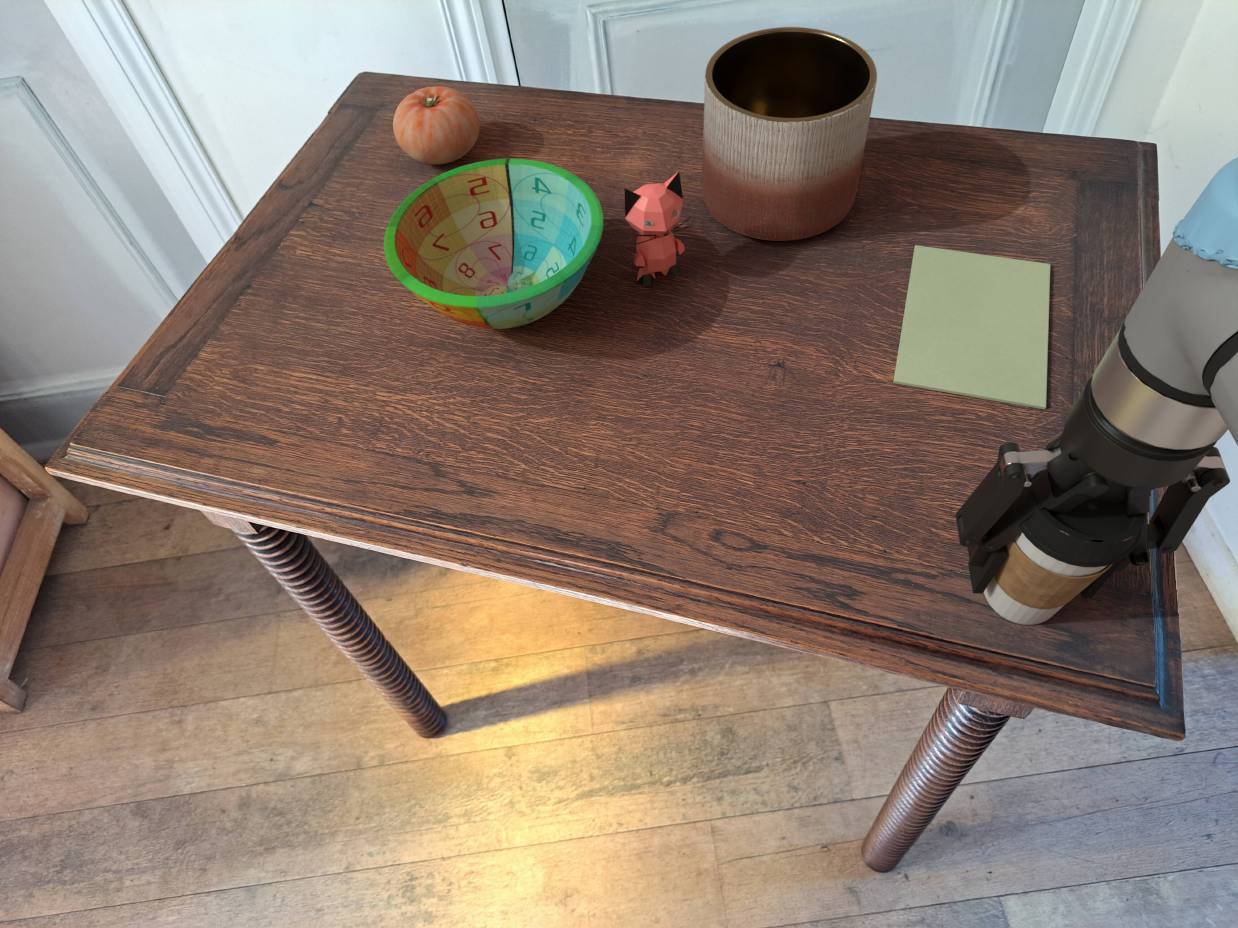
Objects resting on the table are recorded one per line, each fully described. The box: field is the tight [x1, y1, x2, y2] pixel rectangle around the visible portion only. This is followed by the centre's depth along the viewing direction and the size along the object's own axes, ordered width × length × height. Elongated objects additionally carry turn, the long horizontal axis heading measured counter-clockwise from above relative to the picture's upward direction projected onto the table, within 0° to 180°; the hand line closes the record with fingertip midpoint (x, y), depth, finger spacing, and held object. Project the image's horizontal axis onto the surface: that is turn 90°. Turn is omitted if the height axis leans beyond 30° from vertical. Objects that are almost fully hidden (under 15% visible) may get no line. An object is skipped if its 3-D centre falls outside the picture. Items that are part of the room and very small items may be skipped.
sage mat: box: [893, 244, 1051, 411], centre depth 87 cm, size 20×14×1 cm
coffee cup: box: [983, 472, 1145, 626], centre depth 64 cm, size 8×8×15 cm
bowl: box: [383, 158, 605, 330], centre depth 90 cm, size 22×22×10 cm
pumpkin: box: [392, 85, 481, 165], centre depth 107 cm, size 11×11×8 cm
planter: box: [701, 26, 878, 242], centre depth 94 cm, size 18×18×16 cm
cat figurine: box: [624, 170, 693, 287], centre depth 90 cm, size 7×7×12 cm
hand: (1028, 580), depth 69 cm, fingers closed on coffee cup, 8 cm apart
